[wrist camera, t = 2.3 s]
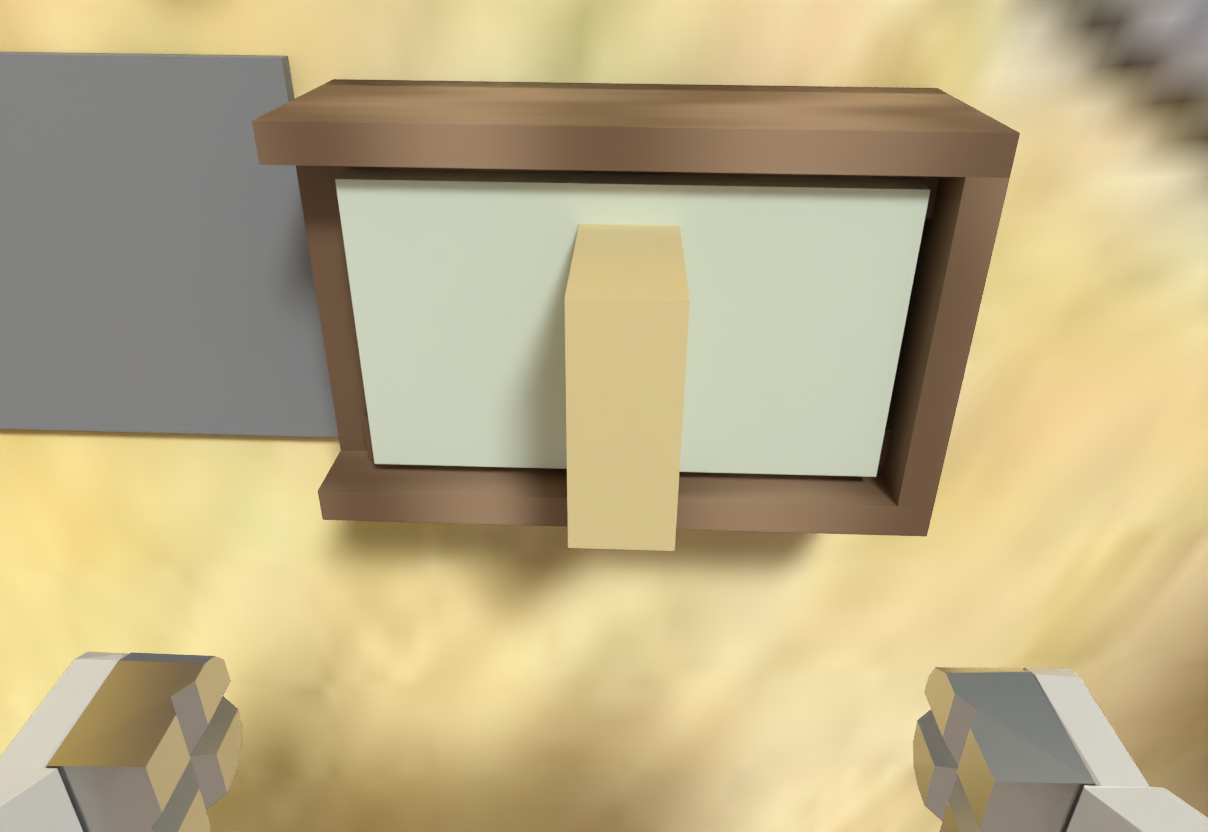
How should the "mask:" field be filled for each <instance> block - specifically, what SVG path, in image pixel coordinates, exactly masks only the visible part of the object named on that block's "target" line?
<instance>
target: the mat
mask: <svg viewBox="0 0 1208 832" xmlns="http://www.w3.org/2000/svg"><path fill="white" fill-rule="evenodd" d="M292 100H294V94H293V87H292V81H291V75H290V68H289V62H288V56H257V55H186V54H115V53H44V52H0V429H31V430H71V431H110V432H150V433H190V434H230V435H269V436H309V437H339V435H338V429H337V422H336V416H335V410H334V404H333V397H332V391H331V385H330V378H329V372H328V366H327V360H326V353H325V347H324V341H323V334H322V328H321V322H320V316H319V309H318V303H317V297H316V290H315V284H314V278H313V272H312V265H311V259H310V253H309V246H308V240H307V234H306V228H305V221H304V215H303V209H302V202H301V196H300V190H299V184H298V177H297V171H296V165H259V159H258V153H257V148H256V142H255V137H254V131H253V125H252V120H254V119H256V118H258V117H260V116H262V115H264V114H266V113H268V112H270V111H272V110H274V109H276V108H278V107H280V106H282V105H284V104H286V103H288V102H290V101H292Z"/></svg>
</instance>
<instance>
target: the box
mask: <svg viewBox="0 0 1208 832" xmlns="http://www.w3.org/2000/svg"><path fill="white" fill-rule="evenodd" d="M252 125H253V131H254V137H255V142H256V148H257V153H258V159H259V165H296V171H297V177H298V184H299V190H300V196H301V202H302V209H303V215H304V221H305V228H306V234H307V240H308V246H309V253H310V259H311V265H312V272H313V278H314V284H315V290H316V297H317V303H318V309H319V316H320V322H321V328H322V334H323V341H324V347H325V353H326V360H327V366H328V372H329V378H330V385H331V391H332V397H333V404H334V410H335V416H336V422H337V429H338V435H339V441H340V448H341V451H340V453H339V455H338V456H337V458H336V460H335V462H334V464H333V465H332V467H331V469H330V471H329V472H328V474H327V476H326V478H325V479H324V481H323V483H322V485H321V487H320V488H319V490H318V495H319V500H320V506H321V511H322V517H323V520H355V521H391V522H428V523H464V524H500V525H537V526H568V513H567V469H557V468H518V467H479V466H441V465H402V464H375V463H374V456H373V449H372V442H371V435H370V427H369V420H368V413H367V406H366V399H365V391H364V384H363V377H362V370H361V362H360V355H359V348H358V341H357V334H356V326H355V319H354V312H353V305H352V298H351V290H350V283H349V276H348V269H347V262H346V254H345V247H344V240H343V233H342V225H341V218H340V211H339V204H338V197H337V189H336V182H335V179H336V178H337V177H338V176H340V175H341V174H342V173H343V172H344V171H345V170H347V169H354V170H412V171H469V172H527V173H585V174H642V175H700V176H757V177H815V178H873V179H919V180H920V181H921V182H923V183H924V184H925V185H926V186H927V187H928V188H929V189H930V195H929V200H928V206H927V211H926V216H925V221H924V227H923V232H922V237H921V243H920V248H919V253H918V258H917V264H916V269H915V274H914V280H913V285H912V290H911V295H910V301H909V306H908V311H907V317H906V322H905V327H904V332H903V338H902V343H901V348H900V354H899V359H898V364H897V369H896V375H895V380H894V385H893V391H892V396H891V401H890V406H889V412H888V417H887V422H886V428H885V433H884V438H883V443H882V449H881V454H880V459H879V465H878V470H877V475H876V477H866V476H827V475H789V474H750V473H711V472H679V489H678V505H677V522H676V529H682V530H718V531H755V532H791V533H827V534H864V535H900V536H927V532H928V528H929V524H930V519H931V515H932V511H933V507H934V502H935V498H936V494H937V489H938V485H939V481H940V476H941V472H942V468H943V463H944V459H945V455H946V450H947V446H948V442H949V437H950V433H951V429H952V424H953V420H954V416H955V411H956V407H957V403H958V398H959V394H960V390H961V385H962V381H963V377H964V372H965V368H966V364H967V359H968V355H969V351H970V346H971V342H972V338H973V334H974V329H975V325H976V321H977V316H978V312H979V308H980V303H981V299H982V295H983V290H984V286H985V282H986V277H987V273H988V269H989V264H990V260H991V256H992V251H993V247H994V243H995V238H996V234H997V230H998V225H999V221H1000V217H1001V212H1002V208H1003V204H1004V199H1005V195H1006V191H1007V186H1008V182H1009V178H1010V174H1011V169H1012V165H1013V161H1014V156H1015V152H1016V148H1017V143H1018V139H1019V135H1020V133H1019V132H1017V131H1015V130H1013V129H1011V128H1009V127H1008V126H1006V125H1004V124H1002V123H1000V122H998V121H997V120H995V119H993V118H991V117H989V116H987V115H986V114H984V113H982V112H980V111H978V110H976V109H975V108H973V107H971V106H969V105H967V104H965V103H964V102H962V101H960V100H958V99H956V98H954V97H953V96H951V95H949V94H947V93H945V92H943V91H942V90H940V89H938V88H878V87H810V86H743V85H675V84H607V83H540V82H472V81H404V80H336V79H333V80H331V81H329V82H328V83H326V84H324V85H322V86H320V87H318V88H316V89H314V90H312V91H310V92H308V93H306V94H304V95H302V96H300V97H298V98H296V99H294V100H292V101H290V102H288V103H286V104H284V105H282V106H280V107H278V108H276V109H274V110H272V111H270V112H268V113H266V114H264V115H262V116H260V117H258V118H256V119H254V120H252Z"/></svg>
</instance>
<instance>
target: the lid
mask: <svg viewBox="0 0 1208 832" xmlns="http://www.w3.org/2000/svg"><path fill="white" fill-rule="evenodd" d="M335 182H336V189H337V197H338V204H339V211H340V218H341V225H342V233H343V240H344V247H345V254H346V262H347V269H348V276H349V283H350V290H351V298H352V305H353V312H354V319H355V326H356V334H357V341H358V348H359V355H360V362H361V370H362V377H363V384H364V391H365V399H366V406H367V413H368V420H369V427H370V435H371V442H372V449H373V456H374V463H375V464H402V465H441V466H479V467H518V468H557V469H567V513H568V548H589V549H624V550H660V551H675V539H676V522H677V505H678V489H679V472H711V473H750V474H789V475H827V476H866V477H876V475H877V470H878V465H879V459H880V454H881V449H882V443H883V438H884V433H885V428H886V422H887V417H888V412H889V406H890V401H891V396H892V391H893V385H894V380H895V375H896V369H897V364H898V359H899V354H900V348H901V343H902V338H903V332H904V327H905V322H906V317H907V311H908V306H909V301H910V295H911V290H912V285H913V280H914V274H915V269H916V264H917V258H918V253H919V248H920V243H921V237H922V232H923V227H924V221H925V216H926V211H927V206H928V200H929V195H930V189H929V188H928V187H927V186H926V185H925V184H924V183H923V182H921V181H920V180H919V179H873V178H815V177H757V176H700V175H642V174H585V173H527V172H469V171H412V170H354V169H347V170H345V171H344V172H343V173H342V174H341V175H340V176H338V177H337V178H336V179H335Z"/></svg>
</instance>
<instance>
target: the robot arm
mask: <svg viewBox="0 0 1208 832" xmlns="http://www.w3.org/2000/svg"><path fill="white" fill-rule="evenodd" d="M229 683H230V677H229V674H228V671H227V668H226V665H225V661H224V659H221V658H218V657H216V656H199V655H174V654H150V653H130V654H126V653H104V652H87V653H85V654H83V655H81V656H80V657H78V658H76V659H75V660H74V661H73V662H72V663H71V664H70V665H69V667H68V668H67V669H66V671H65V672H64V673H63V675H62V676H61V677H60V679H59V680H58V681H57V683H56V684H55V685H54V687H53V688H52V689H51V690H50V692H49V693H48V694H47V696H46V697H45V698H44V700H43V701H42V702H41V704H40V705H39V706H38V708H37V709H36V710H35V712H34V713H33V714H32V715H31V717H30V718H29V719H28V721H27V722H26V723H25V725H24V726H23V727H22V729H21V730H20V731H19V733H18V734H17V735H16V737H15V738H14V739H13V741H12V742H11V743H10V744H9V746H8V747H7V748H6V750H5V751H4V752H3V754H2V755H1V756H0V832H210V830H211V826H210V822H209V819H208V815H207V812H206V810H207V809H208V808H209V807H210V806H212V805H213V804H214V803H215V802H217V801H218V800H219V799H221V798H222V797H223V796H224V795H226V794H227V793H228V790H229V788H230V786H231V783H232V781H233V779H234V776H235V774H236V772H237V768H238V763H239V758H240V753H241V748H242V724H241V720H240V716H239V711H238V709H237V708H236V707H235V706H234V705H232V704H231V703H230V702H229V701H228V700H227V699H225V698H224V697H223V695H224V693H225V691H226V689H227V687H228V685H229ZM925 695H926V697H927V700H928V702H929V705H930V707H931V710H930V711H928V712H927V713H926V714H925V715H924V716H922V717H921V718H920V719H919V720H918V721H917V725H916V730H915V735H914V740H913V759H914V770H915V775H916V780H917V785H918V788H919V791H920V794H921V797H922V800H923V803H924V805H925V806H926V807H927V808H928V809H929V810H930V811H931V812H933V813H934V814H935V815H936V816H937V817H938V818H939V819H940V820H942V825H941V829H940V832H1208V817H1206V816H1205V815H1203V814H1202V813H1200V812H1199V811H1198V810H1196V809H1195V808H1193V807H1192V806H1190V805H1189V804H1187V803H1186V802H1185V801H1183V800H1182V799H1180V798H1179V797H1177V796H1176V795H1174V794H1173V793H1172V792H1170V791H1169V790H1167V789H1166V788H1164V787H1150V786H1149V784H1148V783H1147V781H1146V780H1145V778H1144V776H1143V775H1142V773H1141V772H1140V770H1139V769H1138V767H1137V766H1136V764H1135V762H1134V761H1133V759H1132V758H1131V756H1130V755H1129V753H1128V751H1127V750H1126V748H1125V747H1124V745H1123V744H1122V742H1121V741H1120V739H1119V737H1118V736H1117V734H1116V733H1115V731H1114V730H1113V728H1112V726H1111V725H1110V723H1109V722H1108V720H1107V719H1106V717H1105V716H1104V714H1103V712H1102V711H1101V709H1100V708H1099V706H1098V705H1097V703H1096V701H1095V700H1094V698H1093V697H1092V695H1091V694H1090V692H1089V691H1088V689H1087V687H1086V686H1085V684H1084V683H1083V681H1082V680H1081V678H1080V677H1079V675H1078V674H1077V673H1075V672H1074V671H1073V670H1071V669H1070V668H1023V669H1020V668H950V667H935V669H934V670H933V671H932V673H931V674H930V675H929V678H928V681H927V685H926V689H925Z"/></svg>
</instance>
